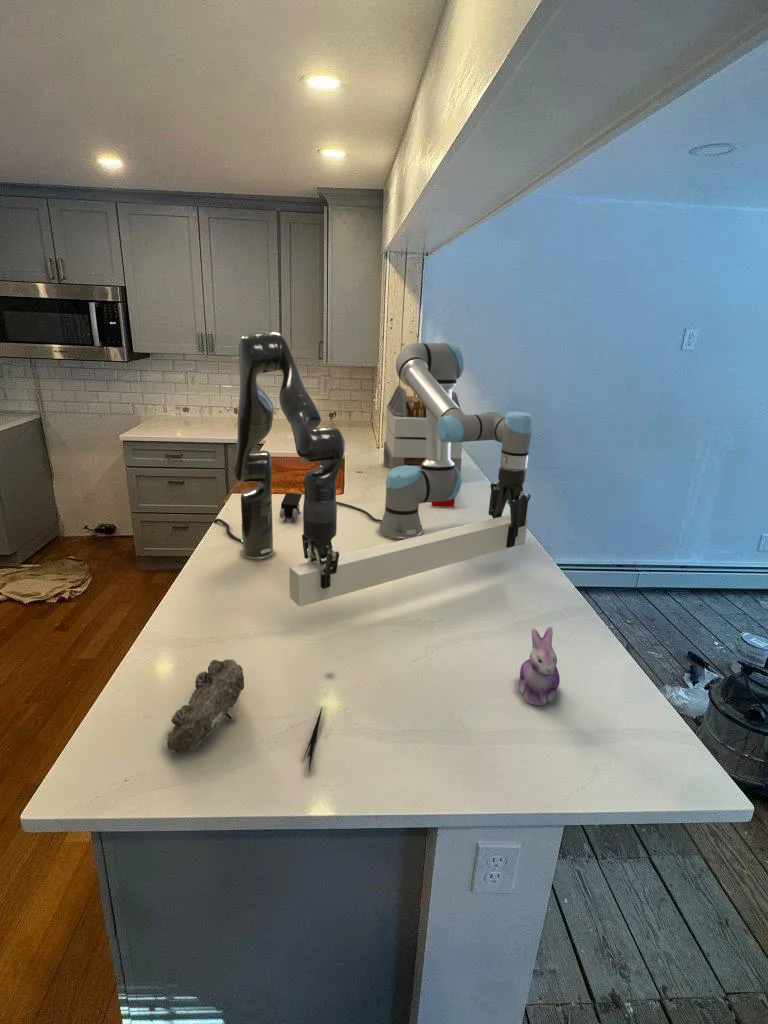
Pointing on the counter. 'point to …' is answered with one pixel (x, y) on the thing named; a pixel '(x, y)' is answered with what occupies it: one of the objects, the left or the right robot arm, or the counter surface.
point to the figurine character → (290, 506)
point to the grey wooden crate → (410, 432)
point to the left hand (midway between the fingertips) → (319, 582)
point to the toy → (444, 503)
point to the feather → (313, 740)
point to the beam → (401, 559)
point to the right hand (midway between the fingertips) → (503, 543)
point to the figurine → (540, 671)
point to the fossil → (206, 705)
